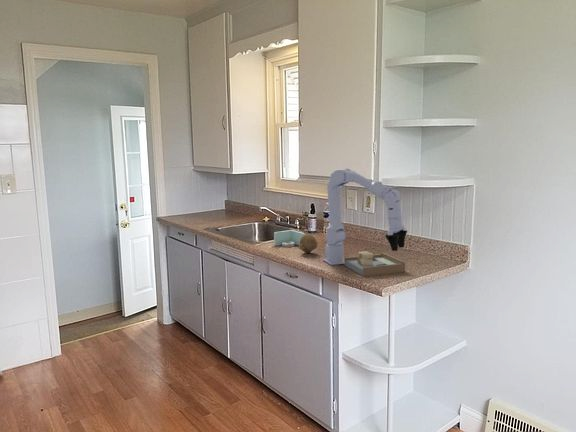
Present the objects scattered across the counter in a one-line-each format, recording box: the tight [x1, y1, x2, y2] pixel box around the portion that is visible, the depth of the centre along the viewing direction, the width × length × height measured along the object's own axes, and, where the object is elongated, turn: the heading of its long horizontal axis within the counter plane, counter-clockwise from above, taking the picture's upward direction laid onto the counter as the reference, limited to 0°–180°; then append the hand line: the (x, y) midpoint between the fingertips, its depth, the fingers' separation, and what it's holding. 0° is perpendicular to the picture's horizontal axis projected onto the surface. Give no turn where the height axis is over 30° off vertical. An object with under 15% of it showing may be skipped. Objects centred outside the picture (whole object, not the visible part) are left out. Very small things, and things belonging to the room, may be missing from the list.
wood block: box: [357, 250, 374, 266], centre depth 208 cm, size 5×5×5 cm
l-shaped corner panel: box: [273, 229, 306, 248], centre depth 256 cm, size 12×12×8 cm
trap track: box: [343, 252, 406, 277], centre depth 210 cm, size 19×20×4 cm
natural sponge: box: [298, 233, 318, 254], centre depth 239 cm, size 9×9×10 cm
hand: (398, 249), depth 202 cm, fingers open, 7 cm apart
